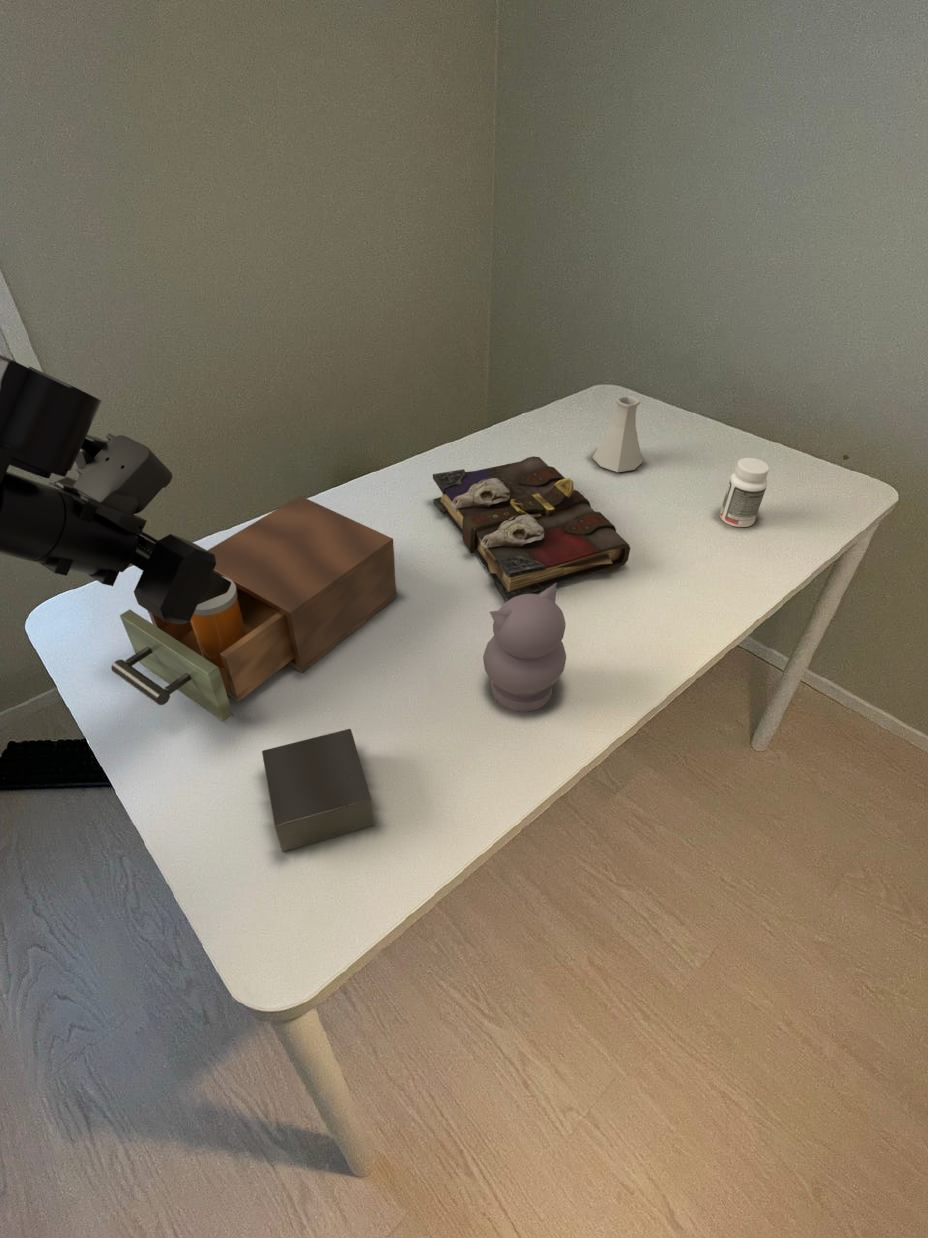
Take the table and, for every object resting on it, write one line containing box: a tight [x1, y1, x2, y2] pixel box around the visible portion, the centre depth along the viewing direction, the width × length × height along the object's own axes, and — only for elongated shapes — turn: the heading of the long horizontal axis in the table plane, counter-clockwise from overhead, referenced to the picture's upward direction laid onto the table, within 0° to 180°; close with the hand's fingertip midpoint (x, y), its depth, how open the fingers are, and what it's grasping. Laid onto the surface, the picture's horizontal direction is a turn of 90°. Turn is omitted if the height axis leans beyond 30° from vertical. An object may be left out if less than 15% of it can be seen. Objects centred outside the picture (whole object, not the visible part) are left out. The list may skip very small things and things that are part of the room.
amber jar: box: [190, 576, 247, 667], centre depth 72 cm, size 5×5×8 cm
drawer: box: [110, 587, 295, 723], centre depth 72 cm, size 18×13×7 cm
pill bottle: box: [719, 457, 770, 528], centre depth 95 cm, size 5×5×8 cm
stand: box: [261, 728, 375, 853], centre depth 62 cm, size 8×8×4 cm
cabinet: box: [206, 495, 397, 674], centre depth 80 cm, size 16×15×9 cm
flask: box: [592, 395, 643, 473], centre depth 106 cm, size 7×7×10 cm
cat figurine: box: [482, 583, 567, 713], centre depth 70 cm, size 9×8×12 cm
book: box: [432, 455, 631, 603], centre depth 92 cm, size 26×18×7 cm
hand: (195, 568), depth 66 cm, fingers open, 9 cm apart
